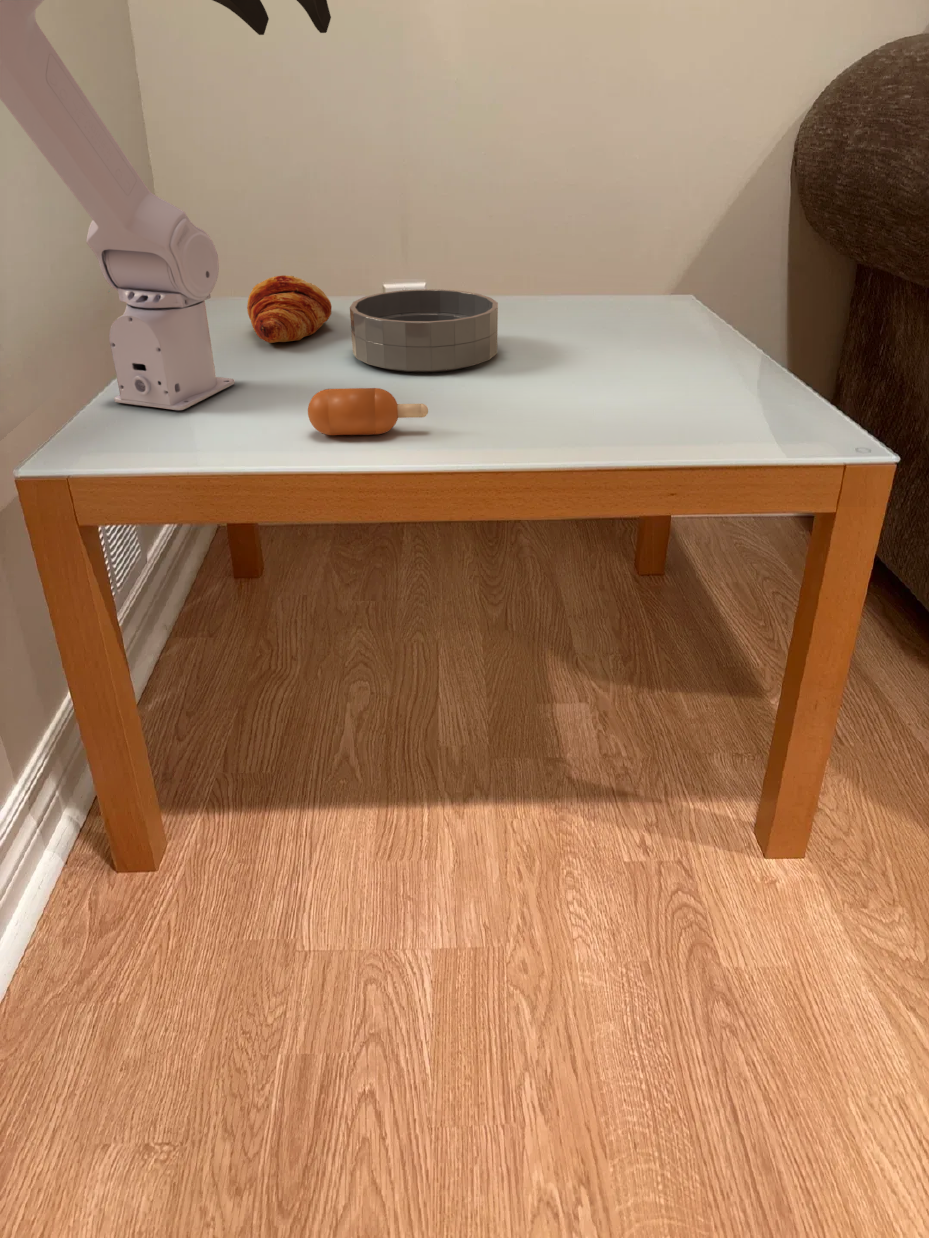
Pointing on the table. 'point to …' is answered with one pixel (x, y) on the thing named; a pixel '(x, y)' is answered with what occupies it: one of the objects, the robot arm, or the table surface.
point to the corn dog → (359, 411)
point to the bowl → (424, 329)
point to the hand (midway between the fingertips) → (294, 26)
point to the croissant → (287, 309)
